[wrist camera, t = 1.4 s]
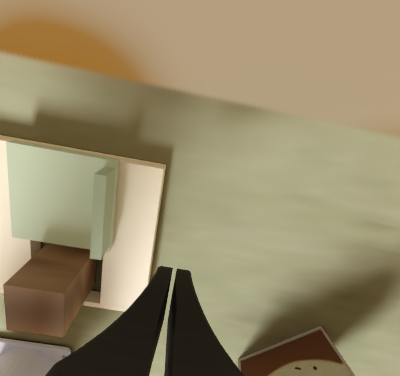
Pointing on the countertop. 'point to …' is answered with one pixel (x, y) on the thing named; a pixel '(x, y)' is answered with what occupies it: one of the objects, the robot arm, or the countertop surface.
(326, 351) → the food container
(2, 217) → the puzzle board
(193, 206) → the countertop surface
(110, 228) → the lid
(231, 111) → the countertop surface
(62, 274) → the walnut block
